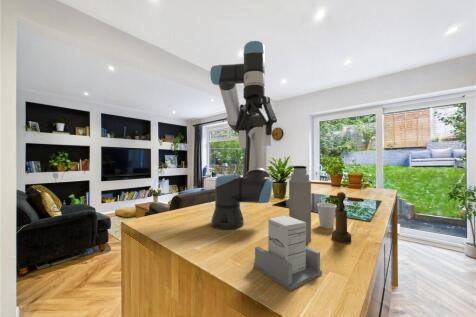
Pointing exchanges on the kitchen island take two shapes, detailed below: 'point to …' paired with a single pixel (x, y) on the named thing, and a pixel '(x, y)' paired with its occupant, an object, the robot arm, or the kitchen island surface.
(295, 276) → the holder
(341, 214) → the brown wooden turned piece
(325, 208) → the dixie cup
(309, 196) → the thermos bottle
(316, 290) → the kitchen island surface
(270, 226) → the supplement box
